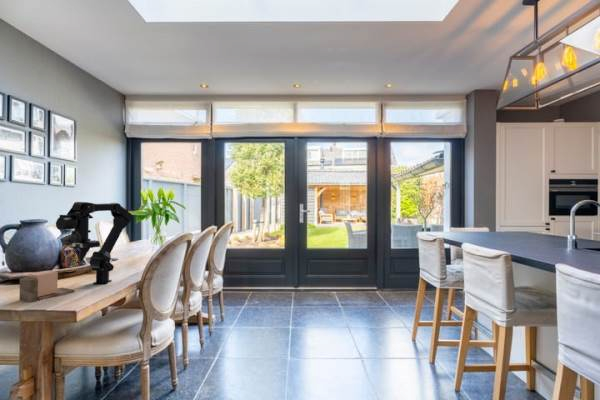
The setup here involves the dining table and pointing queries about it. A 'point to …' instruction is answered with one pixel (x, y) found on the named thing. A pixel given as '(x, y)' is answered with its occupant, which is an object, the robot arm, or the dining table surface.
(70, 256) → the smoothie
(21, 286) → the stop block
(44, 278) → the pink box
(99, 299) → the dining table surface
